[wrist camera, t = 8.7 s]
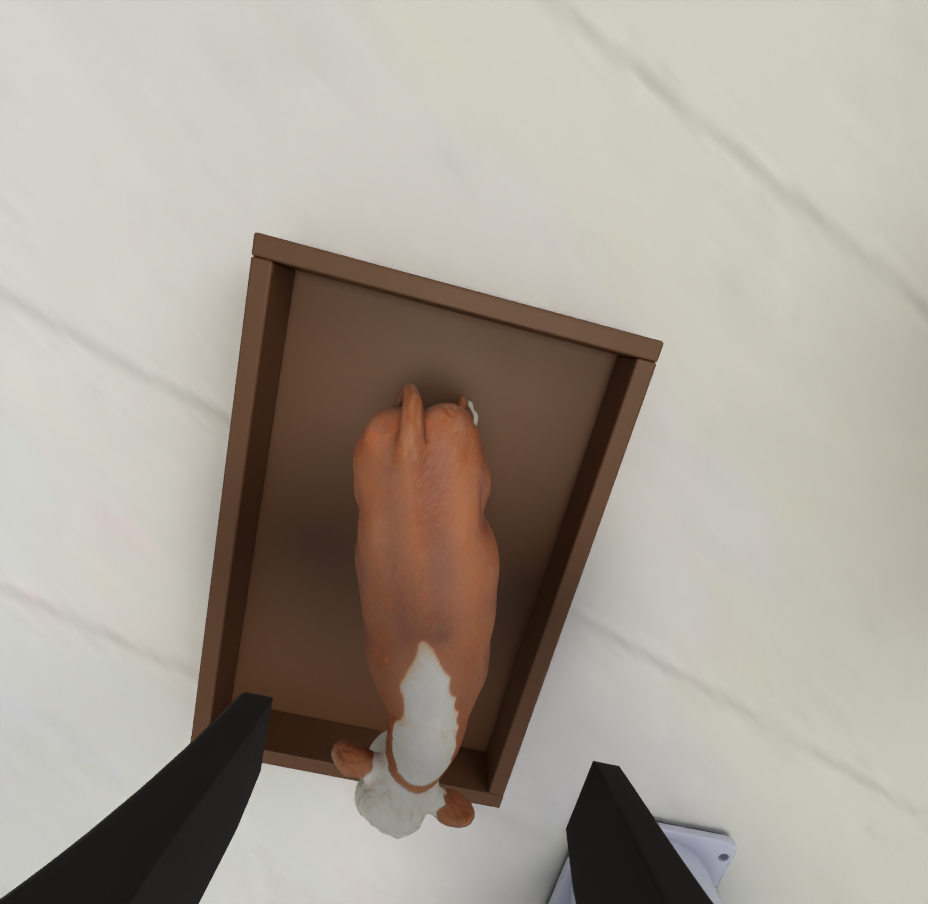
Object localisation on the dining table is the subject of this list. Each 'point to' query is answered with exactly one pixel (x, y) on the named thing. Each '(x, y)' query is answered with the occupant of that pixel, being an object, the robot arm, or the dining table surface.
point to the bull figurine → (421, 604)
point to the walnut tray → (336, 511)
